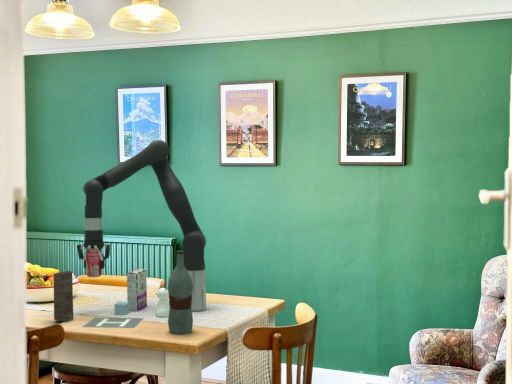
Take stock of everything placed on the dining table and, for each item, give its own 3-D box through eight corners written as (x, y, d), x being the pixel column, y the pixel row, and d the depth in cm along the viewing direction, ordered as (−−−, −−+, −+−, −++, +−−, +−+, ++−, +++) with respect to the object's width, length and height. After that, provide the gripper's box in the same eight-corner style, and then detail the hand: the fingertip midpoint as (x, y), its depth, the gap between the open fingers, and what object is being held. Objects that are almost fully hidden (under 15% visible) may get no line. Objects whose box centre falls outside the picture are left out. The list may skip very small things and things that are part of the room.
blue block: (129, 314, 275) (129, 302, 275) (126, 316, 270) (126, 304, 270) (117, 313, 275) (117, 301, 275) (114, 316, 270) (114, 304, 270)
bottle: (163, 333, 242) (162, 251, 241) (175, 327, 251) (174, 249, 250) (186, 335, 239) (186, 253, 238) (197, 329, 247) (197, 250, 246)
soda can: (87, 278, 270) (87, 248, 269) (85, 275, 275) (84, 247, 275) (103, 276, 272) (102, 247, 272) (100, 274, 278) (99, 246, 278)
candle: (62, 324, 256) (62, 273, 255) (49, 322, 260) (49, 271, 259) (77, 320, 262) (77, 270, 262) (64, 318, 266) (64, 269, 266)
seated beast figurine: (178, 315, 273) (178, 286, 272) (171, 319, 264) (171, 289, 264) (157, 314, 275) (156, 285, 274) (149, 318, 266) (149, 289, 266)
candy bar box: (136, 305, 291) (136, 268, 291) (147, 306, 290) (147, 269, 290) (126, 311, 280) (126, 272, 280) (137, 311, 279) (137, 272, 279)
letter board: (144, 319, 264) (144, 318, 264) (134, 329, 248) (134, 327, 248) (94, 319, 265) (94, 317, 265) (81, 328, 249) (81, 327, 249)
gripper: (113, 227, 276) (113, 267, 277) (79, 227, 277) (80, 267, 278) (108, 229, 269) (108, 270, 270) (73, 229, 270) (74, 270, 270)
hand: (94, 269), depth 274 cm, fingers closed on soda can, 5 cm apart
